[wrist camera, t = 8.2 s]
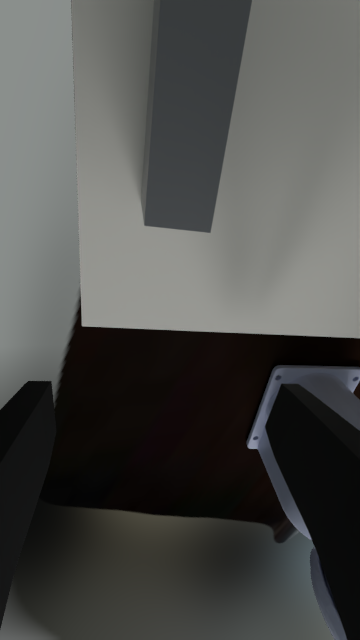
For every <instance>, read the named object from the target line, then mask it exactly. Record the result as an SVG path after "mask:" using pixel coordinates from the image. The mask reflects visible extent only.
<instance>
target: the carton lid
mask: <svg viewBox="0 0 360 640" xmlns="http://www.w3.org/2000/svg"><path fill="white" fill-rule="evenodd" d="M71 8H72V37H73V38H72V39H73V65H74V66H73V69H74V99H75V130H76V160H77V188H78V221H79V250H80V281H81V311H82V326H90V327H113V328H136V329H160V330H183V331H206V332H229V333H252V334H275V335H298V336H321V337H344V338H360V0H71Z"/></svg>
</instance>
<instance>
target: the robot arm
mask: <svg viewBox="0 0 360 640" xmlns="http://www.w3.org/2000/svg"><path fill="white" fill-rule="evenodd" d="M278 375H279V376H278ZM276 376H278V377H276ZM359 381H360V367H341V366H297V365H278V366H276V367H274V368H273V370H272V373H271V376H270V378H269V381H268V384H267V387H266V390H265V392H264V395H263V398H262V401H261V404H260V406H259V409H258V412H257V415H256V418H255V420H254V423H253V426H252V429H251V432H250V434H249V437H248V440H247V446H248V448H250V449H258V451H259V453H260V455H261V458H262V460H263V462H264V465H265V467H266V470H267V472H268V474H269V477H270V479H271V481H272V484H273V486H274V489H275V491H276V493H277V496H278V498H279V500H280V503H281V505H282V508H283V510H284V512H285V513H286V515H287V517H288V518H289V520H290V521H291V522H292V524H293V525H294V526H295V527H296V528H297V529H298V530H299V531H300V532H301V533H302V534H304V535H305V536H306V537H307V538H309V539H310V540H312V541H313V544H314V546H315V547H314V548H313V549H312V551H311V555H310V566H311V580H312V585H313V589H314V593H315V596H316V599H317V602H318V605H319V607H320V610H321V613H322V615H323V617H324V620H325V622H326V624H327V626H328V628H329V630H330V632H331V634H332V636H333V638H334V640H360V400H359V399H358V398H357V397H356V396H355V395H354V394H353V392H354V390H355V388H356V386H357V384H358V383H359ZM55 435H56V423H55V413H54V403H53V394H52V384H51V381H28V382H27V383H26V384H24V386H23V387H22V388H21V389H20V390H19V391H18V392H17V393H16V394H15V395H14V396H13V397H12V398H11V399H10V400H9V401H8V402H7V404H5V406H4V407H3V408H2V409H1V410H0V628H1V624H2V620H3V616H4V611H5V607H6V603H7V599H8V595H9V591H10V587H11V583H12V579H13V575H14V572H15V569H16V565H17V562H18V558H19V555H20V552H21V549H22V546H23V543H24V540H25V537H26V534H27V531H28V528H29V525H30V522H31V519H32V516H33V513H34V510H35V507H36V504H37V501H38V498H39V495H40V492H41V489H42V486H43V483H44V479H45V476H46V473H47V470H48V467H49V463H50V458H51V454H52V449H53V444H54V440H55Z"/></svg>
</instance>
